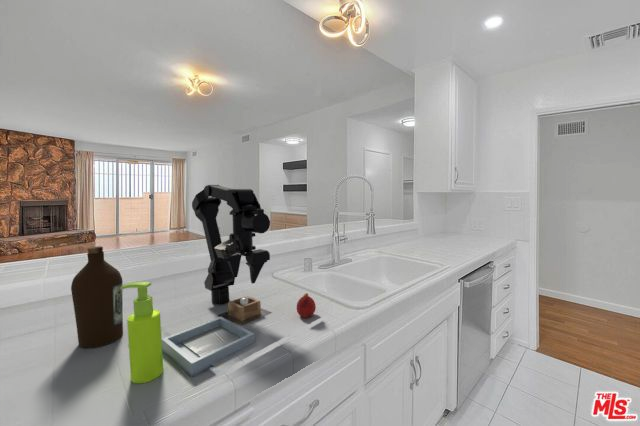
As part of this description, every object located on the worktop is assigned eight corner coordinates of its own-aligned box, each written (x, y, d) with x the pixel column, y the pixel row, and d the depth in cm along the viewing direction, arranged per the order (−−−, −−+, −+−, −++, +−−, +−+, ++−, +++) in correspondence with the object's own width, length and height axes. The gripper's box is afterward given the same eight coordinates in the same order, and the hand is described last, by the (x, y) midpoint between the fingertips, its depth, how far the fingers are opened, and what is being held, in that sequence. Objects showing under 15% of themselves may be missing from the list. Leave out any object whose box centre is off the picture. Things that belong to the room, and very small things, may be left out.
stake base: (216, 318, 86) (216, 299, 86) (249, 306, 96) (248, 289, 95) (239, 330, 79) (238, 309, 78) (272, 315, 88) (271, 297, 87)
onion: (313, 323, 82) (312, 297, 81) (294, 322, 83) (293, 296, 82) (317, 315, 87) (317, 290, 87) (299, 314, 89) (299, 289, 88)
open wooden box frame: (228, 314, 87) (228, 302, 86) (247, 307, 92) (247, 295, 92) (241, 321, 82) (241, 307, 82) (260, 313, 87) (260, 300, 87)
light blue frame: (162, 350, 69) (161, 339, 69) (221, 326, 81) (221, 316, 81) (192, 377, 58) (191, 363, 58) (255, 345, 71) (254, 333, 70)
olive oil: (69, 354, 68) (61, 253, 66) (83, 335, 77) (76, 246, 76) (121, 343, 73) (115, 248, 71) (128, 326, 82) (123, 242, 80)
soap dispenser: (135, 367, 62) (130, 279, 61) (168, 365, 63) (163, 278, 62) (119, 385, 57) (112, 288, 55) (155, 382, 57) (149, 286, 56)
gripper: (201, 230, 85) (203, 280, 86) (237, 236, 73) (239, 294, 74) (233, 226, 93) (235, 272, 95) (270, 231, 81) (271, 283, 83)
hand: (243, 280), depth 86 cm, fingers open, 9 cm apart
